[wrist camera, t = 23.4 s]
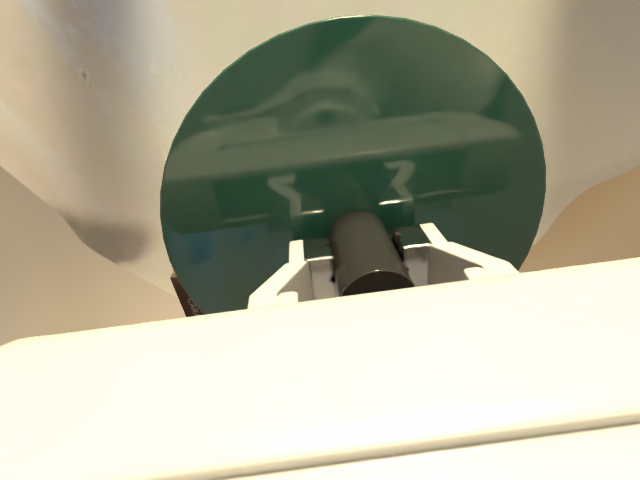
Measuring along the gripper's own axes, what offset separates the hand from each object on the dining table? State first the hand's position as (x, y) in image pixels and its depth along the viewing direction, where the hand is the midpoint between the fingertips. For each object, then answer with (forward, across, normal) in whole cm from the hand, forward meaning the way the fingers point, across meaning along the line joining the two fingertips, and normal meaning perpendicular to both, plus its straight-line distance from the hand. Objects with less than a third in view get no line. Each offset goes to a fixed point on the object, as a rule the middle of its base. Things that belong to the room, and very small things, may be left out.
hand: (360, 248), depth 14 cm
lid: (+2, 0, 0) cm, 2 cm away
